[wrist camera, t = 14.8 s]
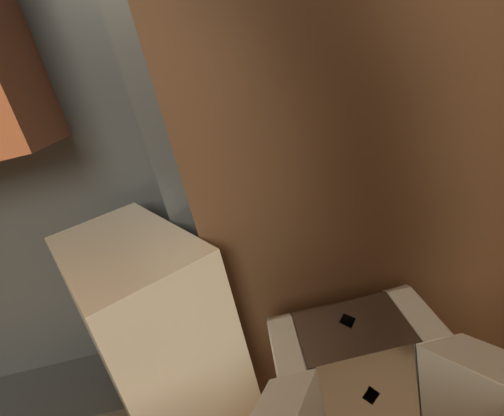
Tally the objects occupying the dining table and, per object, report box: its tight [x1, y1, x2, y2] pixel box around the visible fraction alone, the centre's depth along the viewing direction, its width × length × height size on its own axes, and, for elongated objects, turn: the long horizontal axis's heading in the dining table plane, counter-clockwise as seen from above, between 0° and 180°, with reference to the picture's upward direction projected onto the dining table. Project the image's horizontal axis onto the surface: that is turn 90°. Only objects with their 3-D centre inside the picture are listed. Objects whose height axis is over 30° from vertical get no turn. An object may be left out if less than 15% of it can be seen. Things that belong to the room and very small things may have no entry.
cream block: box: [44, 203, 261, 416], centre depth 9 cm, size 5×5×2 cm
